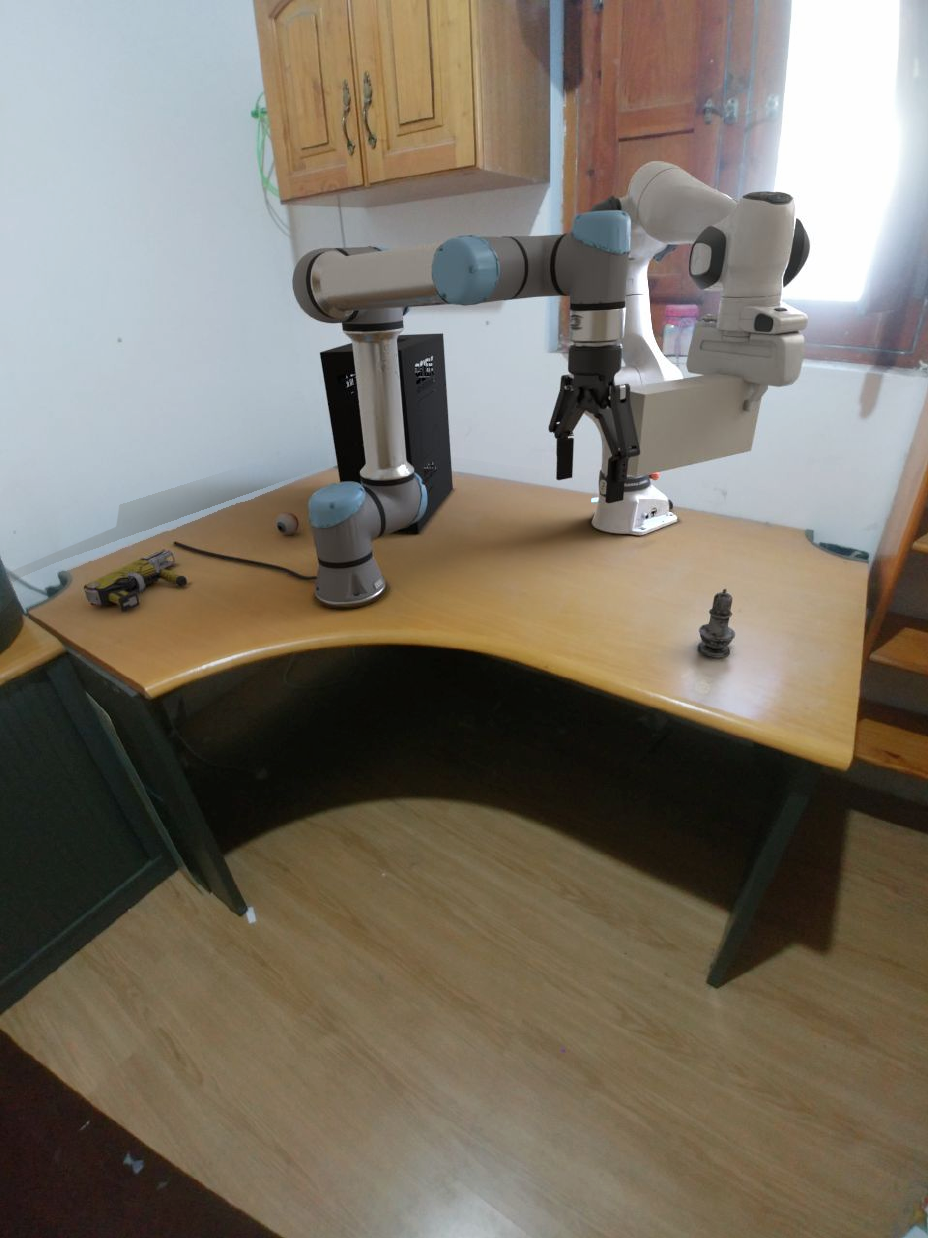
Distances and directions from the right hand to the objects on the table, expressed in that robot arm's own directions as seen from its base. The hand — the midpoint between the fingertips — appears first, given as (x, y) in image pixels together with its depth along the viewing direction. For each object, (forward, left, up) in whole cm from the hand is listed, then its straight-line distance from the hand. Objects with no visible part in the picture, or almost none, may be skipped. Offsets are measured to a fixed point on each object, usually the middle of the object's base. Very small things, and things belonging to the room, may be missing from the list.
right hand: (731, 407), depth 102 cm
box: (+10, 0, -7) cm, 12 cm away
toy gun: (+101, -67, -38) cm, 127 cm away
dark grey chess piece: (+10, +14, -38) cm, 42 cm away
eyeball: (+66, -84, -38) cm, 113 cm away
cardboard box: (+32, -86, -38) cm, 99 cm away
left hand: (+29, +1, -9) cm, 31 cm away
